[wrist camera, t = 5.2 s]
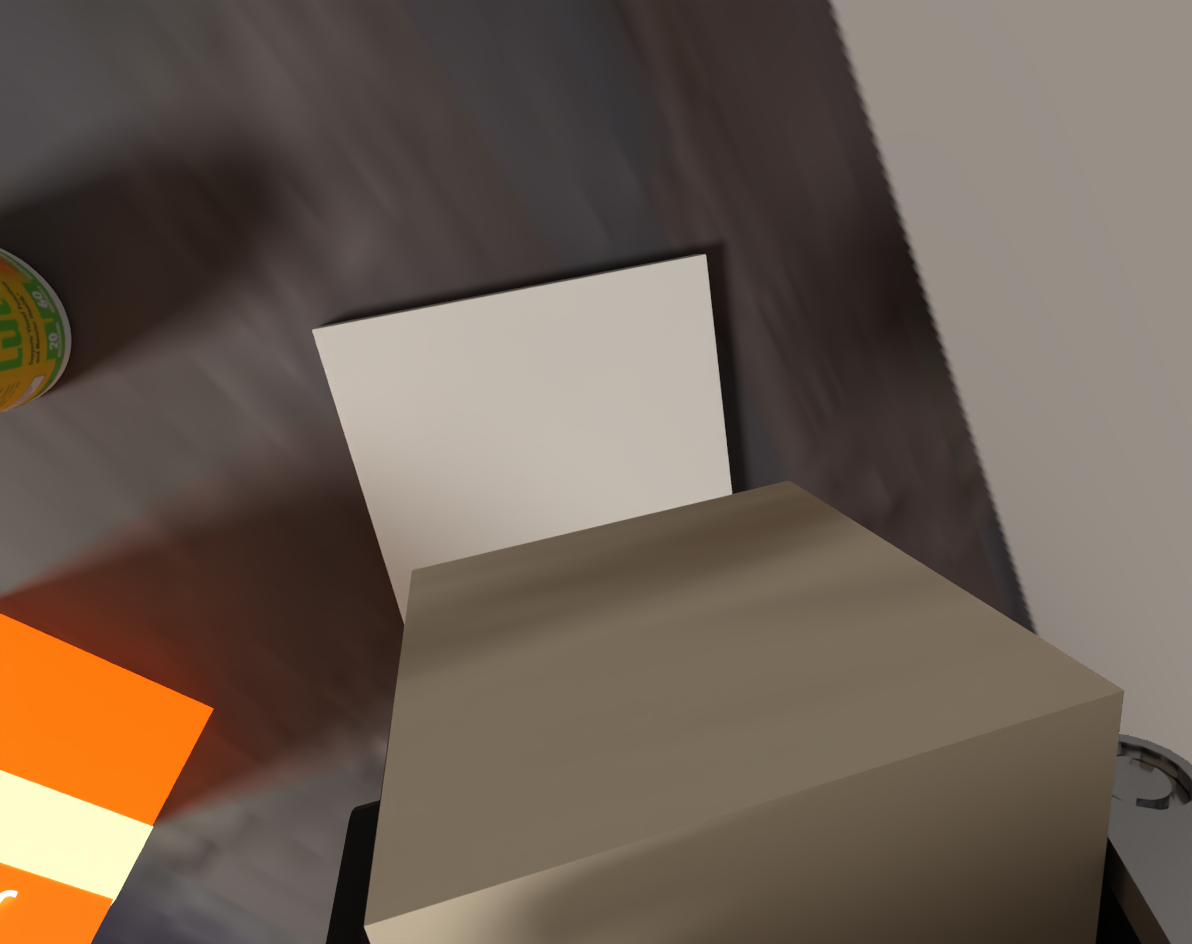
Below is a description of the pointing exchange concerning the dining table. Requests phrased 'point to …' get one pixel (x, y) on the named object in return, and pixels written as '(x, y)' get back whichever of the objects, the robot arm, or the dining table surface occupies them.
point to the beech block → (734, 746)
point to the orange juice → (78, 781)
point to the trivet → (531, 411)
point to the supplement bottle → (29, 334)
